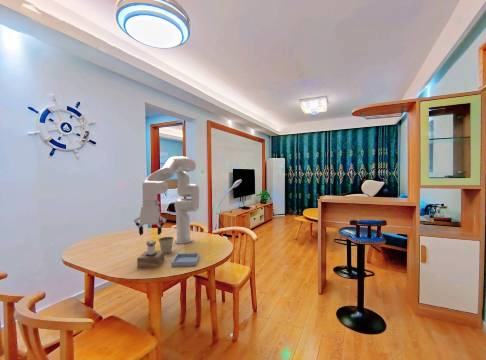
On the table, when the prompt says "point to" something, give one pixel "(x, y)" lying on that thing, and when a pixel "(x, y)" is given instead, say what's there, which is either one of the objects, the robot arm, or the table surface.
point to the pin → (151, 248)
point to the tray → (185, 259)
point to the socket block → (150, 259)
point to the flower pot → (166, 244)
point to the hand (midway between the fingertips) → (150, 234)
